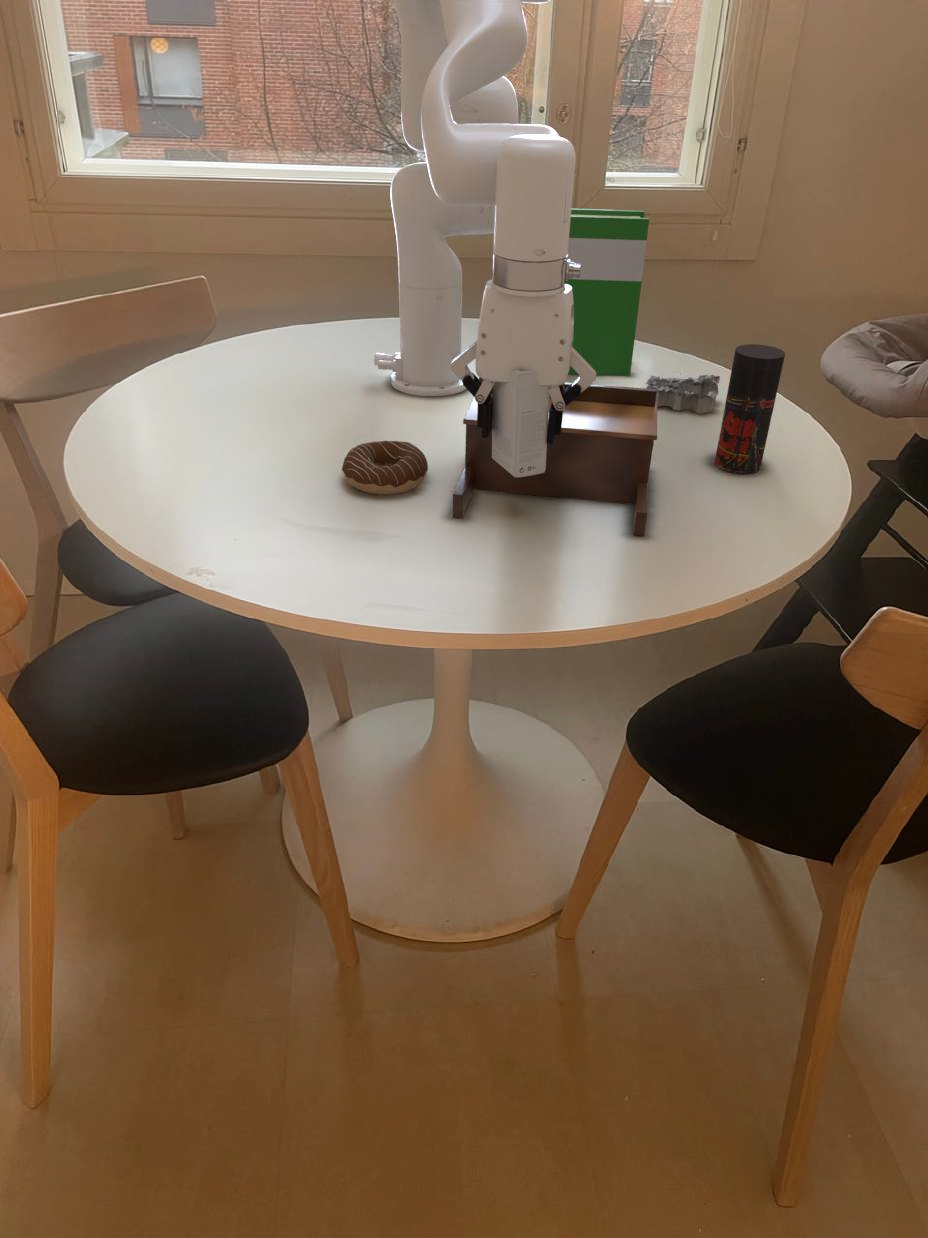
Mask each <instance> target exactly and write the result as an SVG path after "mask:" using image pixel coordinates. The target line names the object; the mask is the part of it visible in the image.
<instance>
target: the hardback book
mask: <svg viewBox="0 0 928 1238" xmlns="http://www.w3.org/2000/svg"><path fill="white" fill-rule="evenodd" d="M645 213H646V211H645V210H635V209H634V210H632V209H631V210H630V209H627V210H626V209H599V208H571V219H570V231H569V242H568V259H570V262H574V264H581V271H580V278H572V279H568V281H565V284H568V285H570V286H571V287H572V291H573V303H574V331H573V348H574V349H575V350H576V351H577V352H578V353H579V354H580V356H581V357H582V358H583V359H584V360H585V361H586V362H587V363H588V364H589V365H590V366H591V367H592V368H593V369H594V370H595V371H596V374H597V375H596V376H615V377H617V376H618V377H631V372H632V363H633V355H634V354H633V353H634V347H635V339H636V332H637V325H638V324H637V322H638V315H639V308H640V307H639V306H640V299H641V291H642V282H643V274H644V267H645V266H644V265H645V259H646V258H645V257H646V249H647V241H648V232H649V225H650V217H645ZM568 375H579V374H578V373H577V372H576V371H575V370H574V369H573V368H572V367H571V368H570V371H569V372H568Z"/></svg>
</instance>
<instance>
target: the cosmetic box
mask: <svg viewBox="0 0 928 1238" xmlns="http://www.w3.org/2000/svg"><path fill="white" fill-rule="evenodd" d="M549 397H550V395H549V392H548V387H546V386H542V385H539V382H538V377H537V373H536V371H528V370H511V371H510V378H509V382H508V383H499V382H495V384H494V386H493V412H492V458H493V459H494V460H495V461H496V462H497V463H499V464H500V465H501V466H502V467H503V468H504V469H506V470H507V471H508V472H509V473H510V474H512V475H513V476H514V477H526V476H531V475H536V474H541V473H544V472H545V470H546V453H547V431H548V415H549Z"/></svg>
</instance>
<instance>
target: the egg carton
mask: <svg viewBox="0 0 928 1238" xmlns="http://www.w3.org/2000/svg"><path fill="white" fill-rule="evenodd" d="M720 378H721V377H720V375H714V374H710V375H709V374H703V375H699V376H698V377H697V378H694V377H692V376H691V377H690V376H689V377H688V378H679V377H667V378H666V377H663V378H662V377H661V378H660V376H656V375H651V376H650V377H649V378H648V379H647V381H646V382H645V384H646V385H647V386H646V388H647V389H657V395H656V402H655V404H656V405H657V408H658V407H663V406H665V407H670V408H672V410H674V411H681V410H692V411H694V412H695V413H696V414H704V413H711V412H712V411H713V409H714V405H715V404H716V400H717V396H718V395H719V384H720V382H721V381H720V380H721V379H720Z"/></svg>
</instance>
